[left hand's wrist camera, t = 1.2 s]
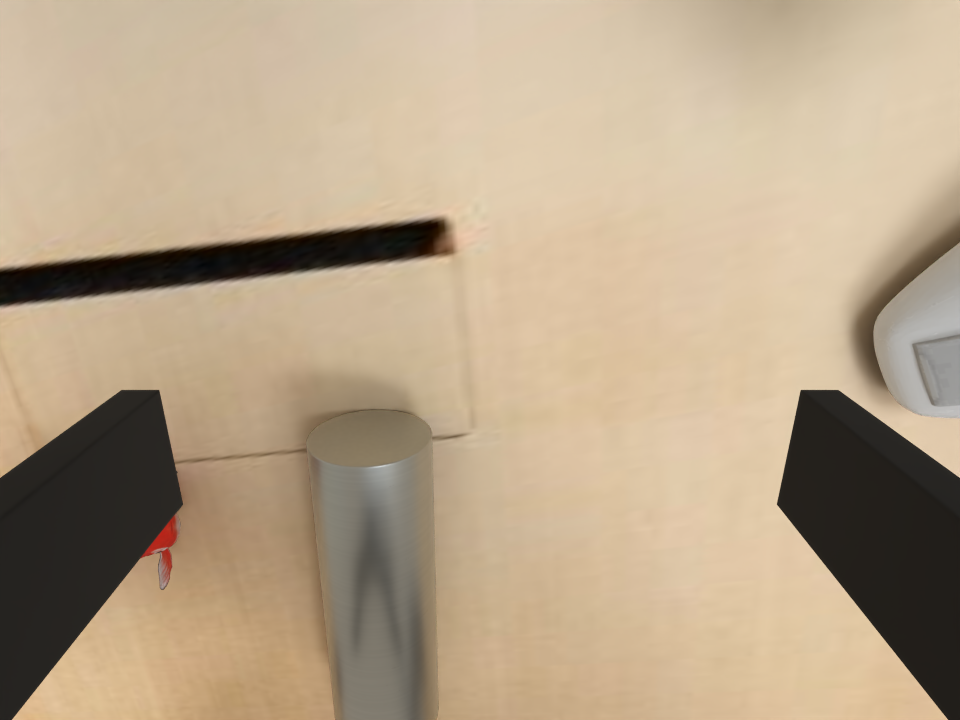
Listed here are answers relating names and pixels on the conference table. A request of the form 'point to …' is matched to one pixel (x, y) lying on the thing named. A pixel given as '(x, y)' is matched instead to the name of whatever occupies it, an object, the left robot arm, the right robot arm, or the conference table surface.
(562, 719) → the conference table surface
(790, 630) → the conference table surface
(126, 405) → the left robot arm
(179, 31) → the conference table surface
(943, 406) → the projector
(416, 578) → the rod
